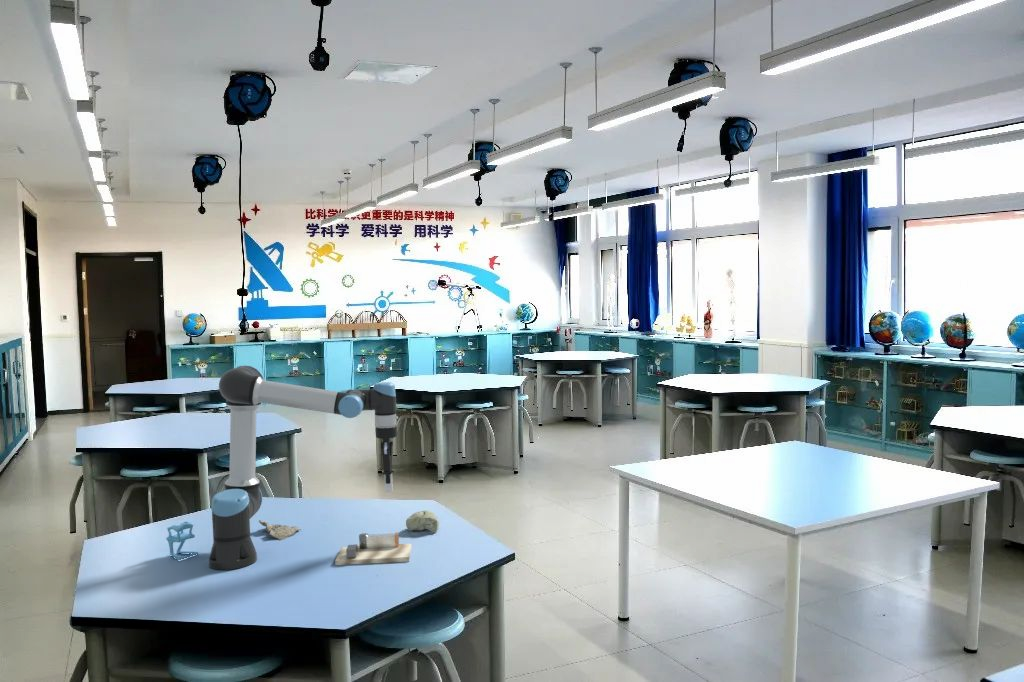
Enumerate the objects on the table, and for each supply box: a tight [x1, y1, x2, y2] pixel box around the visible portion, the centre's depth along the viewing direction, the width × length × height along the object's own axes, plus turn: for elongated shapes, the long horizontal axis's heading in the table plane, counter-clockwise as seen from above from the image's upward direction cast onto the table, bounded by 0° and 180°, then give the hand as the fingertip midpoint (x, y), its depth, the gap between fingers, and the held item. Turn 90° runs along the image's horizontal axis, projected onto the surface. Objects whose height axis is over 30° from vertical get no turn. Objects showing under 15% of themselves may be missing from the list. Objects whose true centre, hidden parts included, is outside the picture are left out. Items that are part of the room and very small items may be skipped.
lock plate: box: [334, 543, 412, 566], centre depth 258 cm, size 24×14×2 cm, turn 94°
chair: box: [165, 521, 199, 561], centre depth 263 cm, size 8×8×12 cm
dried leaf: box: [258, 520, 301, 541], centre depth 287 cm, size 18×16×5 cm
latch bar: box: [358, 532, 400, 549], centre depth 263 cm, size 13×3×4 cm, turn 94°
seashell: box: [405, 510, 440, 534], centre depth 286 cm, size 13×8×10 cm
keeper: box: [346, 544, 359, 559], centre depth 255 cm, size 3×5×3 cm, turn 4°
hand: (388, 491), depth 272 cm, fingers closed
